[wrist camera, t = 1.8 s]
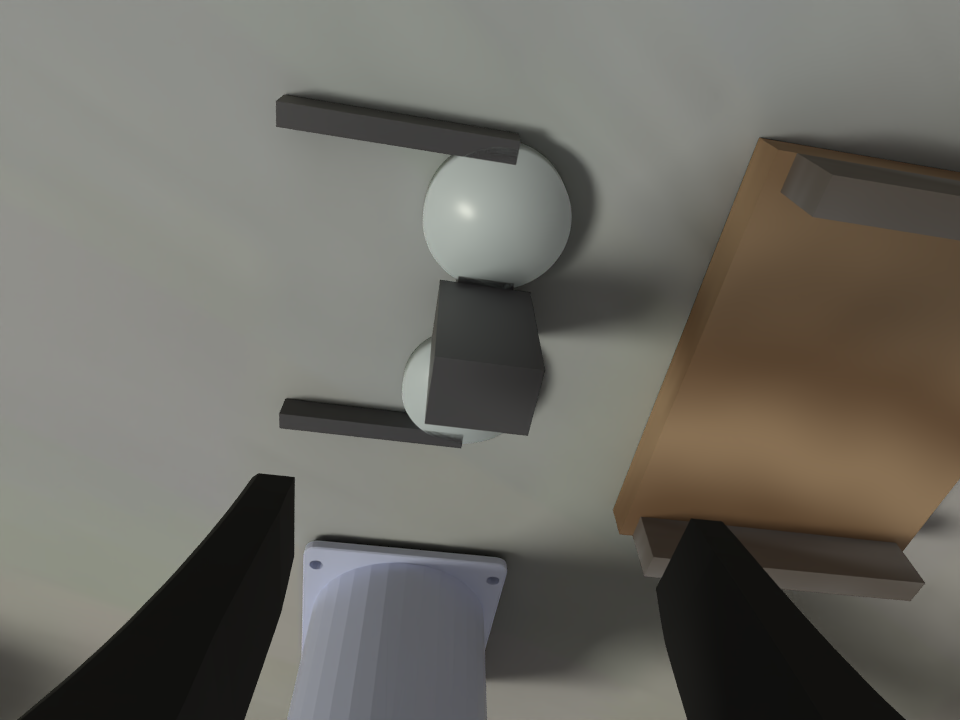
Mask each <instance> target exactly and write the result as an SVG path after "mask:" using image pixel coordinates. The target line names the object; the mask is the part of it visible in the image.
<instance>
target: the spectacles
mask: <svg viewBox="0 0 960 720" xmlns="http://www.w3.org/2000/svg"><path fill="white" fill-rule="evenodd" d="M276 127H282V128H288V129H294V130H300V131H306V132H313V133H319V134H325V135H331V136H338V137H344V138H350V139H356V140H362V141H369V142H375V143H381V144H387V145H394V146H400V147H406V148H412V149H419V150H425V151H431V152H437V153H443V154H450V155H451V156H450V157H449V158H448V159H446V160H445V161H444V162H443V164H442V165H441V166H440V167H439V168H438V170H437V171H436V173H435V174H434V176H433V178H432V180H431V182H430V184H429V187H428V190H427V193H426V198H425V204H424V210H423V230H424V235H425V239H426V242H427V245H428V248H429V250H430V252H431V253H432V255H433V257H434V258H435V260H436V261H437V262H438V264H439V265H440V266H441V267H442V268H443V269H444V270H445V271H446V272H447V273H448V274H450V275H451V276H452V277H454V278H455V279H456V282H452V281H445V280H440V285H439V292H438V299H437V306H436V313H435V320H434V327H433V334H432V337H430V338H428V339H427V340H425V341H424V342H423V343H421V344H420V345H419V346H418V347H417V348H416V349H415V350H414V352H413V353H412V354H411V356H410V358H409V360H408V362H407V364H406V367H405V372H404V379H403V386H402V399H403V404H404V407H405V410H406V412H407V413H403V412H394V411H386V410H377V409H368V408H360V407H351V406H342V405H334V404H325V403H317V402H308V401H299V400H291V399H285V401H284V403H283V406H282V408H281V411H280V413H279V423H280V428H283V429H292V430H301V431H310V432H319V433H328V434H337V435H346V436H355V437H364V438H373V439H382V440H391V441H400V442H409V443H418V444H427V445H436V446H445V447H454V448H461V446H462V443H463V444H466V443H477V442H482V441H486V440H489V439H492V438H495V437H497V436H499V435H501V434H502V433H508V434H517V435H526V436H528V433H529V429H530V425H531V422H532V418H533V414H534V410H535V407H536V403H537V399H538V395H539V392H540V388H541V384H542V380H543V377H544V373H545V367H544V362H543V357H542V352H541V346H540V341H539V336H538V331H537V325H536V320H535V315H534V310H533V305H532V299H531V294H530V292H524V291H517V290H513V288H515V287H518V286H522V285H524V284H526V283H529V282H531V281H533V280H534V279H536V278H538V277H539V276H541V275H542V274H543V273H545V272H546V271H547V270H548V269H549V268H550V267H551V266H552V265H553V264H554V263H555V262H556V260H557V259H558V258H559V256H560V255H561V253H562V252H563V250H564V248H565V245H566V243H567V241H568V237H569V234H570V229H571V221H572V213H571V204H570V200H569V196H568V194H567V191H566V188H565V186H564V184H563V181H562V179H561V177H560V175H559V173H558V172H557V170H556V169H555V167H554V166H553V165H552V163H551V162H550V161H549V160H548V159H547V158H546V157H545V156H543V155H542V154H541V153H539V152H538V151H537V150H535V149H533V148H531V147H529V146H527V145H525V144H522V143H521V141H520V137H519V134H518V133H512V132H506V131H500V130H494V129H488V128H482V127H476V126H470V125H464V124H458V123H452V122H446V121H440V120H434V119H428V118H422V117H416V116H410V115H404V114H398V113H392V112H386V111H380V110H374V109H368V108H362V107H356V106H350V105H344V104H338V103H332V102H326V101H320V100H314V99H308V98H302V97H296V96H290V95H283V96H282V97H280V98H279V99H278V100H277V101H276Z"/></svg>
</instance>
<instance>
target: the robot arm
mask: <svg viewBox="0 0 960 720" xmlns="http://www.w3.org/2000/svg"><path fill="white" fill-rule="evenodd" d="M294 496H295V477H288V476H279V475H269V474H260V473H259V474H257V475H255V476H254V477H252V479H251V480H250V481H249V483H248V484H247V486H246V487H245V488H244V490H243V491H242V492H241V494H240V495H239V496H238V498H237V499H236V500H235V502H234V503H233V504H232V506H231V507H230V508H229V510H228V511H227V512H226V513H225V515H224V516H223V517H222V518H221V520H220V521H219V522H218V523H217V524H216V526H215V527H214V528H213V529H212V530H211V532H210V533H209V534H208V535H207V537H206V538H205V539H204V540H203V541H202V542H201V543H200V545H199V546H198V547H197V548H196V549H195V550H194V551H193V553H192V554H191V555H190V556H189V557H188V558H187V559H186V561H185V562H184V563H183V564H182V565H181V566H180V567H179V568H178V570H177V571H176V572H175V573H174V574H173V575H172V576H171V577H170V578H169V579H168V581H167V582H166V583H165V584H164V585H163V586H162V587H161V588H160V589H159V590H158V591H157V592H156V593H155V594H154V595H153V596H152V597H151V598H150V599H149V600H148V601H147V602H146V603H145V604H144V605H143V606H142V607H141V608H140V609H139V610H138V611H137V613H136V614H135V615H134V616H133V617H132V618H131V619H130V620H129V621H128V622H127V623H126V624H125V625H124V626H123V627H122V628H120V629H119V630H118V631H117V632H116V633H115V634H114V635H113V636H112V637H111V638H110V639H109V640H108V641H107V642H106V643H105V644H104V645H103V646H102V647H101V648H99V649H98V650H97V651H96V652H95V653H94V654H93V655H92V656H91V657H90V658H88V659H87V660H86V661H85V662H84V663H83V664H82V665H81V666H80V667H79V668H77V669H76V670H75V671H74V672H73V673H72V674H71V675H70V676H68V677H67V678H66V679H65V680H64V681H63V682H62V683H60V684H59V685H58V686H57V687H56V688H54V689H53V690H52V691H51V692H50V693H49V694H47V695H46V696H45V697H44V698H43V699H41V700H40V701H39V702H38V703H37V704H36V705H34V706H33V707H32V708H31V709H30V710H28V711H27V712H26V713H25V714H24V715H23V716H21V717H20V718H19V719H18V720H244V719H245V716H246V713H247V710H248V707H249V704H250V702H251V699H252V696H253V693H254V690H255V687H256V684H257V681H258V678H259V676H260V673H261V670H262V667H263V664H264V661H265V658H266V655H267V652H268V649H269V647H270V644H271V641H272V638H273V635H274V632H275V629H276V626H277V623H278V620H279V617H280V614H281V611H282V606H283V602H284V598H285V594H286V590H287V585H288V581H289V576H290V572H291V568H292V563H293V559H294ZM506 575H507V563H506V562H505V560H503V559H501V558H498V557H489V556H479V555H468V554H457V553H447V552H436V551H425V550H414V549H404V548H393V547H382V546H372V545H361V544H350V543H340V542H329V541H312V542H309V543H308V544H307V545H306V547H305V551H304V556H303V610H302V657H301V661H300V665H299V670H298V674H297V678H296V683H295V687H294V691H293V696H292V700H291V704H290V709H289V713H288V717H287V720H487V705H486V670H485V648H486V645H487V641H488V638H489V634H490V631H491V627H492V624H493V620H494V617H495V613H496V610H497V606H498V603H499V599H500V596H501V592H502V589H503V585H504V582H505V578H506ZM656 591H657V598H658V604H659V611H660V618H661V623H662V629H663V634H664V640H665V645H666V648H667V652H668V655H669V659H670V662H671V666H672V669H673V673H674V676H675V680H676V683H677V687H678V690H679V693H680V697H681V700H682V703H683V707H684V710H685V713H686V717H687V720H906V719H904V718H903V717H902V716H901V715H900V714H899V713H898V712H897V711H896V710H895V709H894V708H893V707H891V706H890V705H889V704H888V703H887V702H886V701H885V700H884V699H883V698H882V697H881V696H880V695H879V694H878V693H877V692H876V691H875V690H874V689H873V688H872V687H871V686H870V685H869V684H868V683H867V682H866V681H865V680H864V679H863V678H862V677H861V676H860V675H859V674H858V673H857V672H856V671H855V670H854V669H853V667H852V666H851V665H850V664H849V663H848V662H847V661H846V660H845V659H844V658H843V657H842V656H841V655H840V654H839V653H838V652H837V651H836V650H835V649H834V648H833V647H832V646H831V644H830V643H829V642H828V641H827V640H826V639H825V638H824V637H823V636H822V635H821V634H820V633H819V631H818V630H817V629H816V628H815V627H814V626H813V625H812V624H811V623H810V622H809V620H808V619H807V618H806V617H805V616H804V615H803V614H802V613H801V611H800V610H799V609H798V608H797V607H796V606H795V605H794V604H793V602H792V601H791V600H790V599H789V598H788V597H787V595H786V594H785V593H784V592H783V591H782V590H781V589H780V587H779V586H778V585H777V584H776V583H775V582H774V580H773V579H772V578H771V577H770V576H769V575H768V573H767V572H766V571H765V570H764V569H763V568H762V566H761V565H760V564H759V563H758V562H757V561H756V559H755V558H754V557H753V556H752V555H751V554H750V552H749V551H748V550H747V549H746V548H745V547H744V545H743V544H742V543H741V542H740V541H739V540H738V538H737V537H736V536H735V535H734V534H733V533H732V532H731V531H730V529H729V528H728V527H727V526H726V525H725V524H724V523H723V522H722V521H713V520H703V519H694V518H691V519H690V521H689V523H688V525H687V527H686V529H685V531H684V533H683V535H682V537H681V539H680V541H679V543H678V545H677V547H676V549H675V551H674V553H673V555H672V557H671V559H670V561H669V564H668V566H667V568H666V570H665V572H664V574H663V576H662V578H661V580H660V582H659V584H658V586H657V588H656Z"/></svg>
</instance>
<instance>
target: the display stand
mask: <svg viewBox="0 0 960 720" xmlns="http://www.w3.org/2000/svg"><path fill="white" fill-rule="evenodd" d="M959 479H960V172H955V171H949V170H944V169H938V168H932V167H926V166H920V165H915V164H909V163H903V162H897V161H892V160H886V159H880V158H874V157H868V156H863V155H857V154H851V153H845V152H839V151H834V150H828V149H822V148H816V147H810V146H805V145H799V144H793V143H787V142H781V141H776V140H770V139H764V138H759V140H758V142H757V145H756V147H755V150H754V152H753V155H752V157H751V160H750V163H749V165H748V168H747V170H746V173H745V175H744V178H743V180H742V183H741V185H740V188H739V191H738V193H737V196H736V198H735V201H734V203H733V206H732V208H731V211H730V213H729V216H728V219H727V221H726V224H725V226H724V229H723V231H722V234H721V236H720V239H719V241H718V244H717V247H716V249H715V252H714V254H713V257H712V259H711V262H710V264H709V267H708V269H707V272H706V275H705V277H704V280H703V282H702V285H701V287H700V290H699V292H698V295H697V297H696V300H695V303H694V305H693V308H692V310H691V313H690V315H689V318H688V320H687V323H686V325H685V328H684V331H683V333H682V336H681V338H680V341H679V343H678V346H677V348H676V351H675V353H674V356H673V359H672V361H671V364H670V366H669V369H668V371H667V374H666V376H665V379H664V381H663V384H662V387H661V389H660V392H659V394H658V397H657V399H656V402H655V404H654V407H653V409H652V412H651V415H650V417H649V420H648V422H647V425H646V427H645V430H644V432H643V435H642V437H641V440H640V443H639V445H638V448H637V450H636V453H635V455H634V458H633V460H632V463H631V465H630V468H629V471H628V473H627V476H626V478H625V481H624V483H623V486H622V488H621V491H620V493H619V496H618V499H617V501H616V504H615V506H614V509H613V512H614V515H615V519H616V523H617V527H618V530H619V534H622V535H632V536H633V539H634V542H635V546H636V549H637V553H638V556H639V560H640V563H641V567H642V570H643V574H644V576H646V577H657V578H662V576H663V574H664V572H665V570H666V568H667V566H668V564H669V561H670V559H671V557H672V555H673V553H674V551H675V549H676V547H677V545H678V543H679V541H680V539H681V537H682V535H683V533H684V531H685V529H686V527H687V525H688V523H689V521H690V519H691V518H694V519H703V520H713V521H722V522H723V523H724V524H725V525H726V526H727V527H728V528H729V529H730V531H731V532H732V533H733V534H734V535H735V536H736V537H737V538H738V540H739V541H740V542H741V543H742V544H743V545H744V547H745V548H746V549H747V550H748V551H749V552H750V554H751V555H752V556H753V557H754V558H755V559H756V561H757V562H758V563H759V564H760V565H761V566H762V568H763V569H764V570H765V571H766V572H767V573H768V575H769V576H770V577H771V578H772V579H773V580H774V582H775V583H776V584H777V585H778V586H779V587H780V589H786V590H797V591H808V592H819V593H830V594H840V595H851V596H862V597H873V598H884V599H894V600H905V601H911V600H912V598H913V597H914V596H915V595H916V594H917V593H918V591H919V590H920V589H921V588H922V587H923V585H924V584H925V582H924V581H923V579H922V578H921V577H920V575H919V574H918V572H917V571H916V570H915V568H914V567H913V566H912V564H911V563H910V561H909V560H908V559H907V557H906V556H905V555H904V553H903V552H902V551H903V550H904V549H905V548H906V546H907V545H908V544H909V543H910V541H911V540H912V539H913V537H914V536H915V535H916V534H917V532H918V531H919V530H920V529H921V527H922V526H923V525H924V523H925V522H926V521H927V520H928V518H929V517H930V516H931V514H932V513H933V512H934V511H935V509H936V508H937V507H938V506H939V504H940V503H941V502H942V500H943V499H944V498H945V497H946V495H947V494H948V493H949V491H950V490H951V489H952V488H953V486H954V485H955V484H956V483H957V481H958V480H959Z"/></svg>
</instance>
